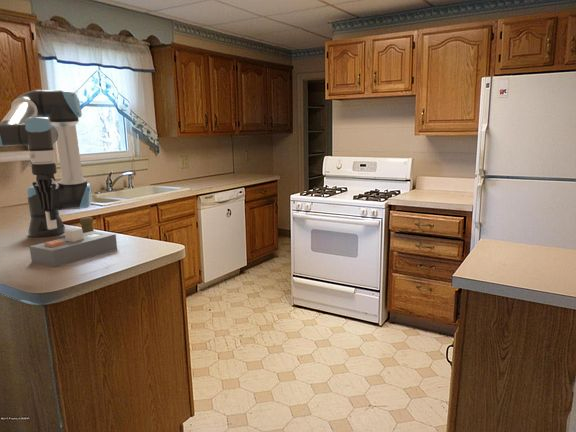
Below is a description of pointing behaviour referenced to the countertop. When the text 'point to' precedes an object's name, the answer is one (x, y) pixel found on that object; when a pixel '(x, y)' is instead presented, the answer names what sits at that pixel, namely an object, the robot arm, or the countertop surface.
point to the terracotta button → (54, 243)
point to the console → (73, 249)
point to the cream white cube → (73, 234)
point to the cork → (86, 224)
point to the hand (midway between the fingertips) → (52, 228)
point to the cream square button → (92, 235)
